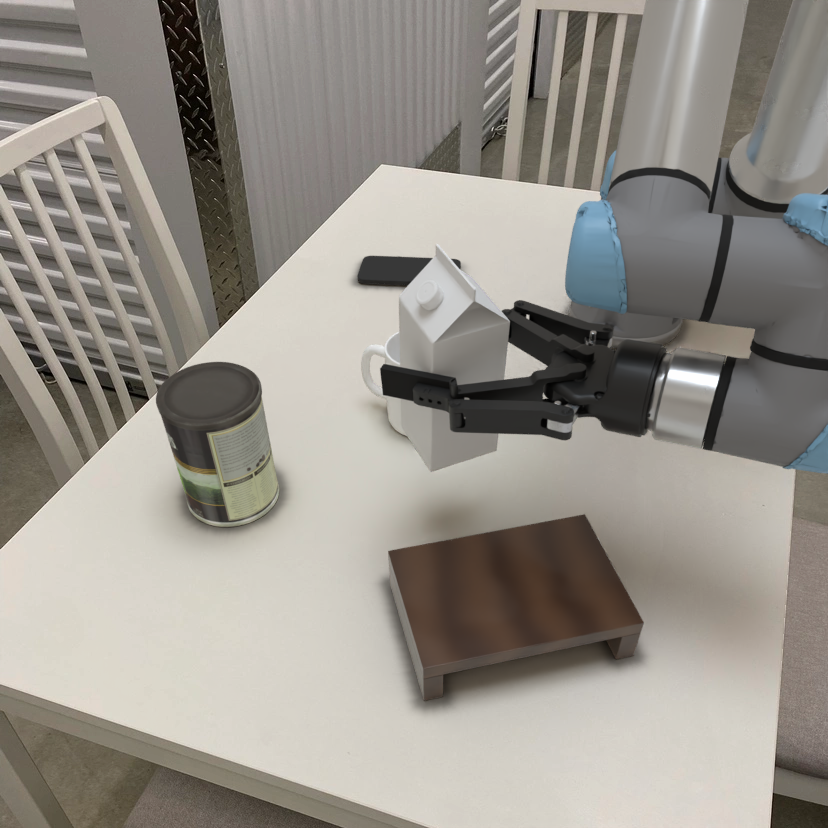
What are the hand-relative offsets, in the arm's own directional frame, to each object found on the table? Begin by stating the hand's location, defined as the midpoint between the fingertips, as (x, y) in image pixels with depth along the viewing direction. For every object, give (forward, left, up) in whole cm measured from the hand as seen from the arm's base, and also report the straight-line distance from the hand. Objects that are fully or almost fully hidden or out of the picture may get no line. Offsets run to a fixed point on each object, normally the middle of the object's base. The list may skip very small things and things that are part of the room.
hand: (408, 346), depth 73 cm
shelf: (-5, +16, -21) cm, 27 cm away
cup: (-3, -17, -21) cm, 27 cm away
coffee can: (+19, -8, -21) cm, 29 cm away
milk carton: (-3, +2, -10) cm, 11 cm away
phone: (-11, -50, -21) cm, 55 cm away
